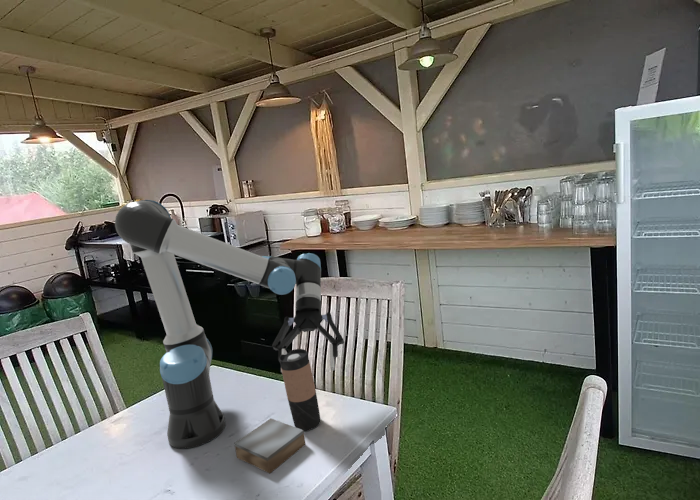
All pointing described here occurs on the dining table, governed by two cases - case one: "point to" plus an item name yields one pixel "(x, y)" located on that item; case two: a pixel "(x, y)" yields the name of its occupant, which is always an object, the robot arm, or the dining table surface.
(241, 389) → the dining table surface
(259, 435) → the walnut stand
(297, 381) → the travel mug
